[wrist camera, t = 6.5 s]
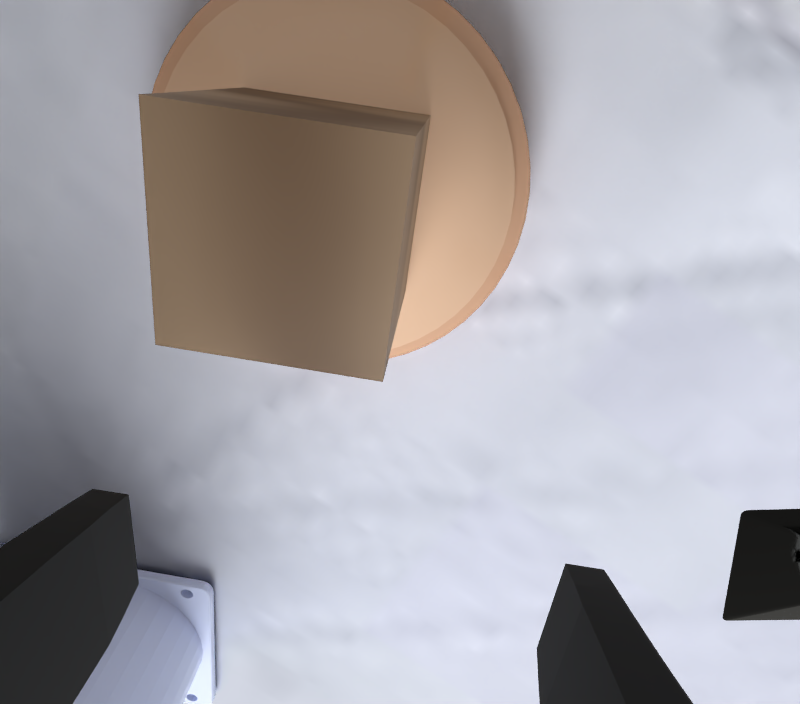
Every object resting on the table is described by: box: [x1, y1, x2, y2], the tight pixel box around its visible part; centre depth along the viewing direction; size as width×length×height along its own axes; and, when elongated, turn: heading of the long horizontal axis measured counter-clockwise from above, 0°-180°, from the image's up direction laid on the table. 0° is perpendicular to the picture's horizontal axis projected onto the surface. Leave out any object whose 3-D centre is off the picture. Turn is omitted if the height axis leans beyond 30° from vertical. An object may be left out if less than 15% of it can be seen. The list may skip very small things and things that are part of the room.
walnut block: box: [139, 87, 431, 382], centre depth 12 cm, size 4×4×5 cm
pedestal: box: [152, 0, 530, 358], centre depth 15 cm, size 10×10×2 cm
